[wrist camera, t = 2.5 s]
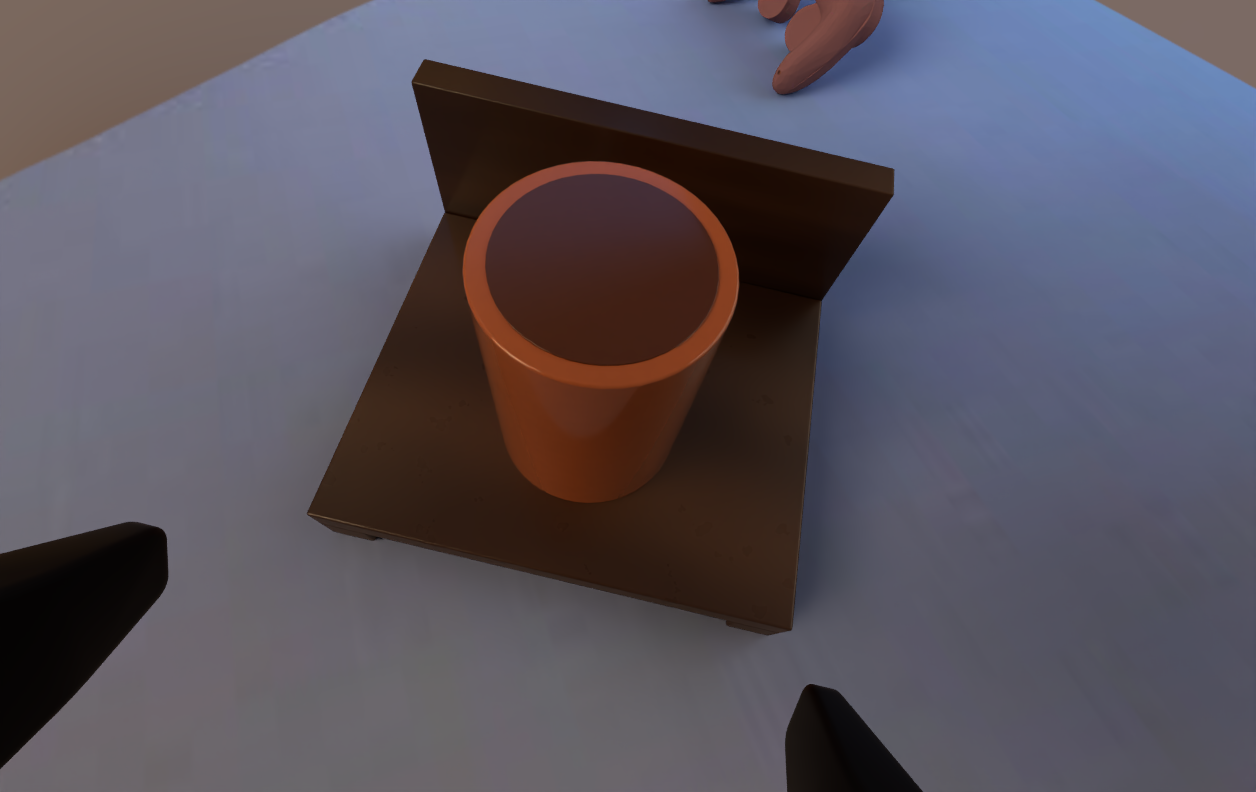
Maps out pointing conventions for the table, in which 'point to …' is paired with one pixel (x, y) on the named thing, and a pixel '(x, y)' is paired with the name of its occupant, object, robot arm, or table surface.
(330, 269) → the table surface
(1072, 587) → the table surface
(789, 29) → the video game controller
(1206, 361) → the table surface
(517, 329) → the cup
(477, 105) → the dark brown wooden piece
